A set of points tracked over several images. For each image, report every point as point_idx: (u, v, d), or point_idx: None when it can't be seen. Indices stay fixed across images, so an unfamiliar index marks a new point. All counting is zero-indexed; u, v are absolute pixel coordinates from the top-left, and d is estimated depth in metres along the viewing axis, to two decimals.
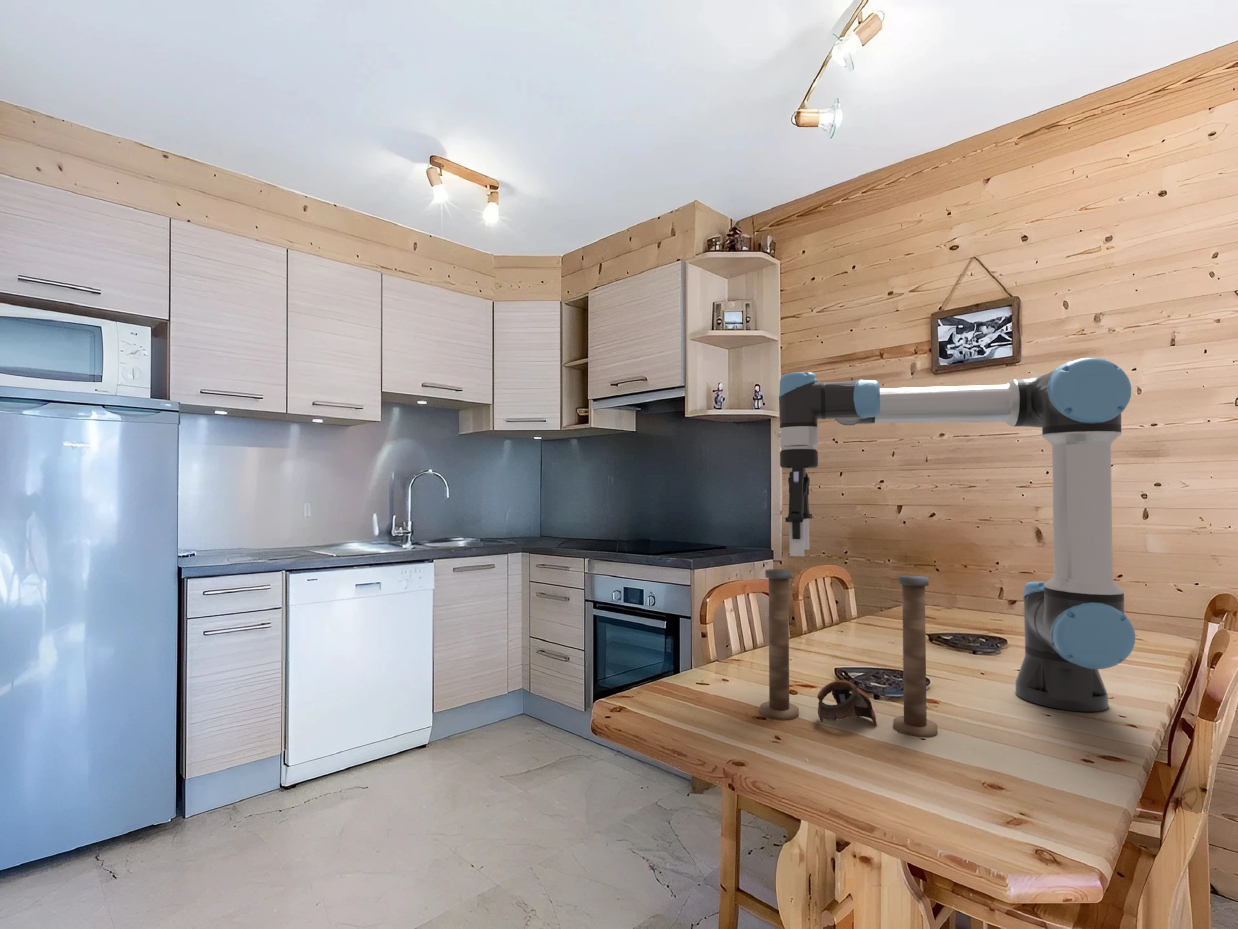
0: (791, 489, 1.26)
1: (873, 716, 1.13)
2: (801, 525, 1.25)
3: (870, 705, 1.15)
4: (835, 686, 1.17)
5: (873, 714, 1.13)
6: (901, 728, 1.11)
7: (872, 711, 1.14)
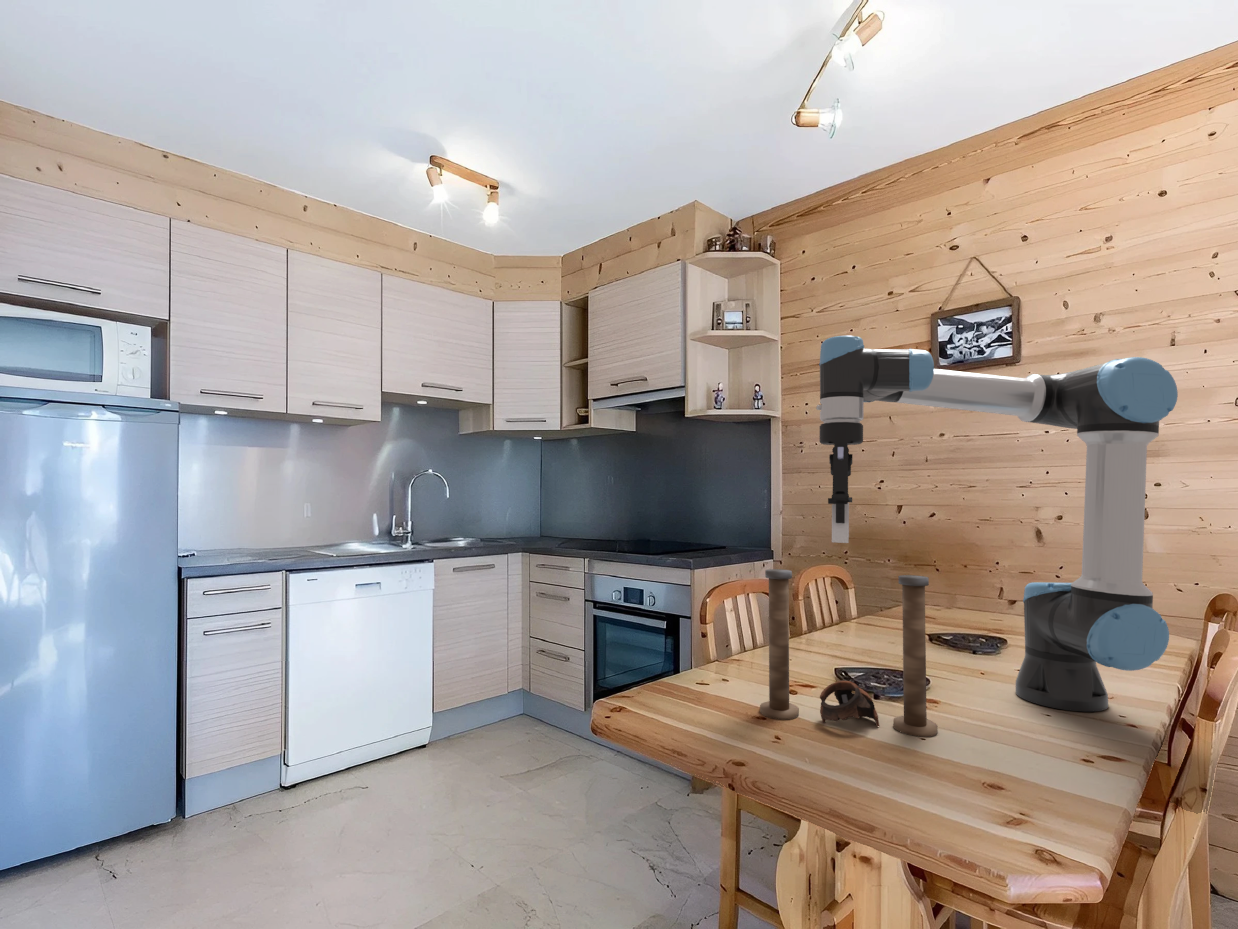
0: (835, 466, 1.11)
1: (876, 716, 1.13)
2: (846, 507, 1.10)
3: (872, 705, 1.14)
4: (837, 686, 1.17)
5: (876, 714, 1.13)
6: (901, 728, 1.11)
7: (875, 711, 1.14)
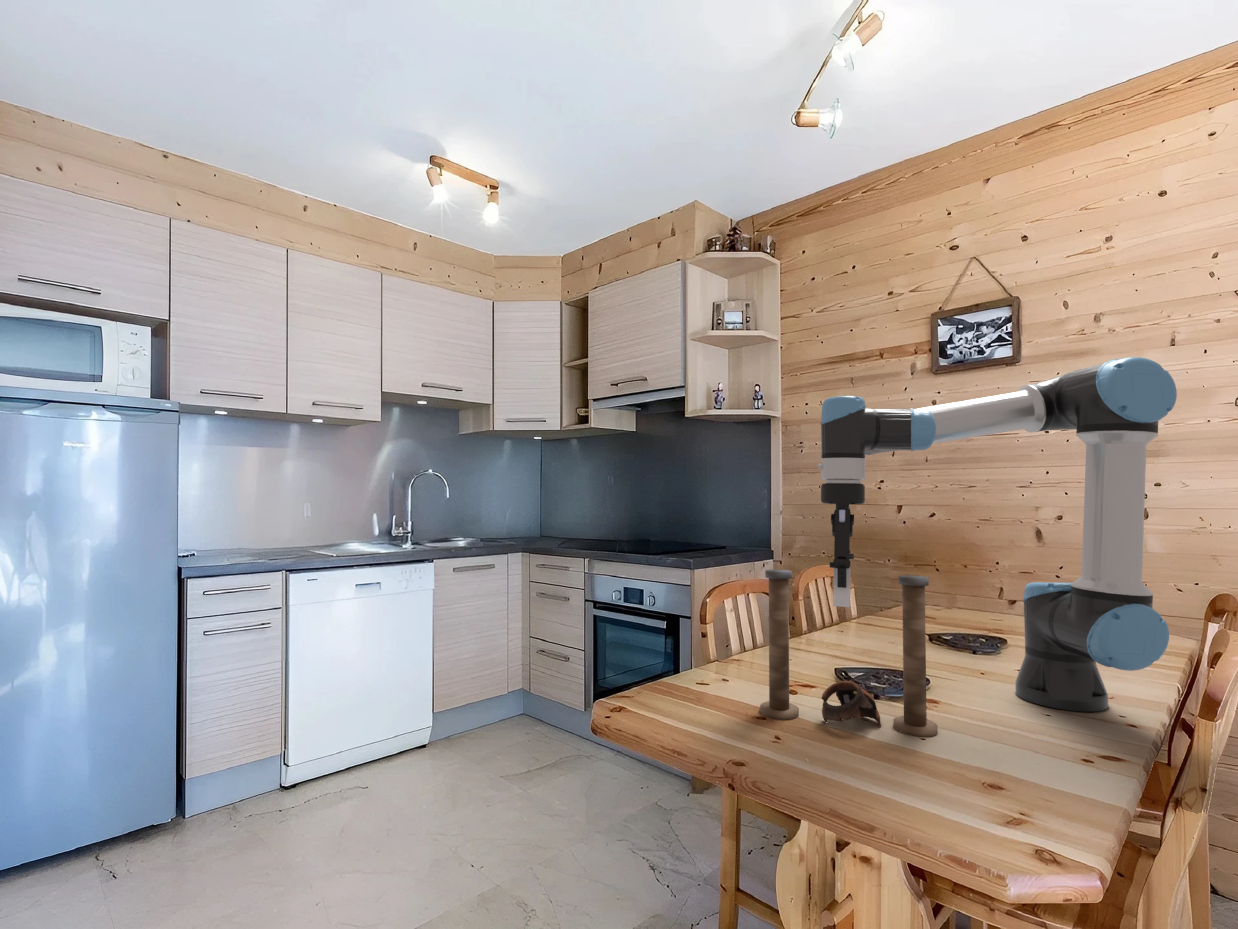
0: (836, 530, 1.10)
1: (878, 717, 1.13)
2: (847, 571, 1.10)
3: (874, 706, 1.14)
4: (839, 687, 1.17)
5: (877, 715, 1.13)
6: (901, 728, 1.11)
7: (876, 712, 1.14)
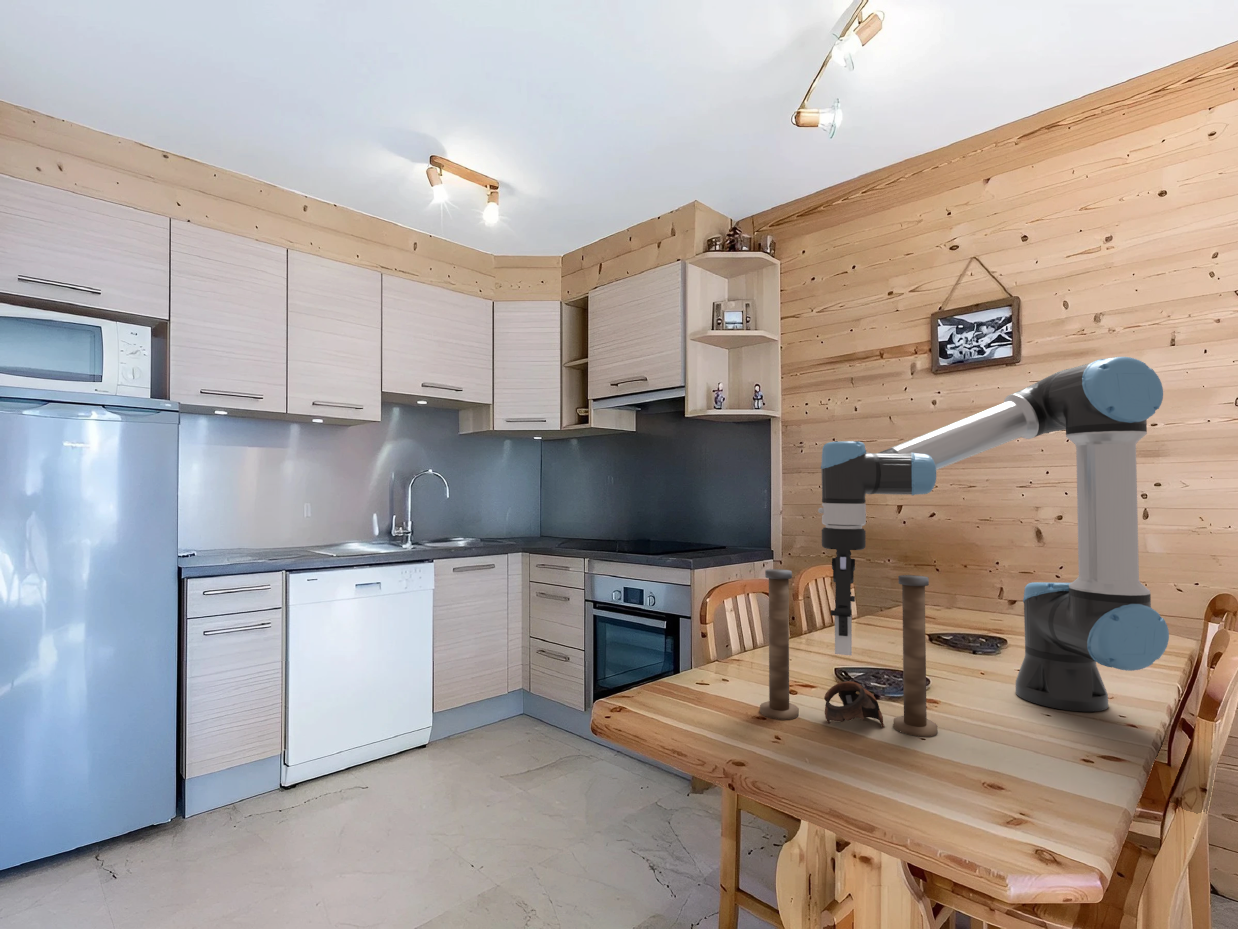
0: (837, 578, 1.10)
1: (880, 717, 1.13)
2: (849, 619, 1.10)
3: (877, 706, 1.14)
4: (842, 687, 1.16)
5: (880, 715, 1.13)
6: (901, 728, 1.11)
7: (879, 712, 1.14)
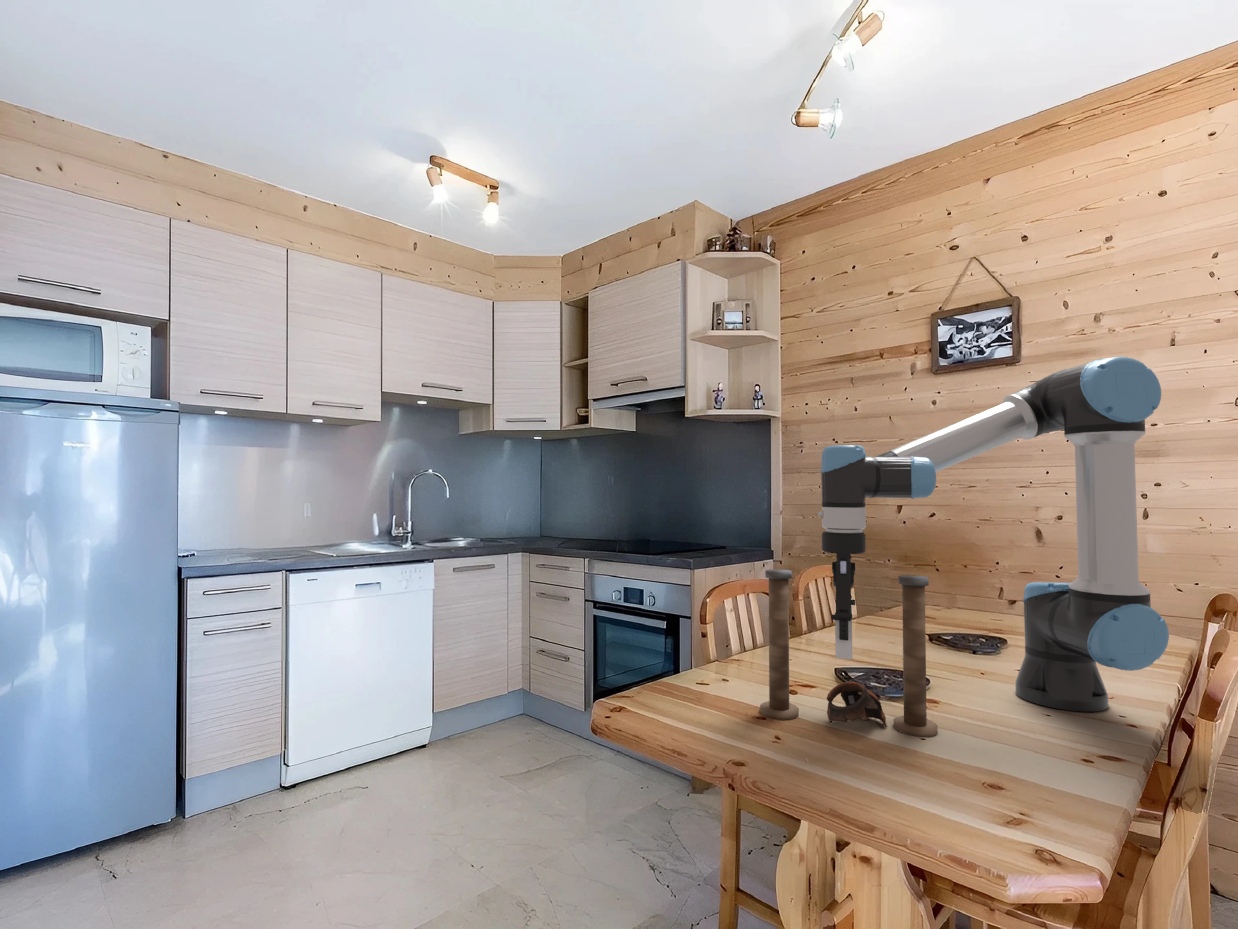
0: (838, 582, 1.10)
1: (883, 717, 1.12)
2: (849, 624, 1.10)
3: (880, 706, 1.14)
4: (844, 687, 1.16)
5: (883, 715, 1.13)
6: (901, 728, 1.11)
7: (882, 712, 1.14)
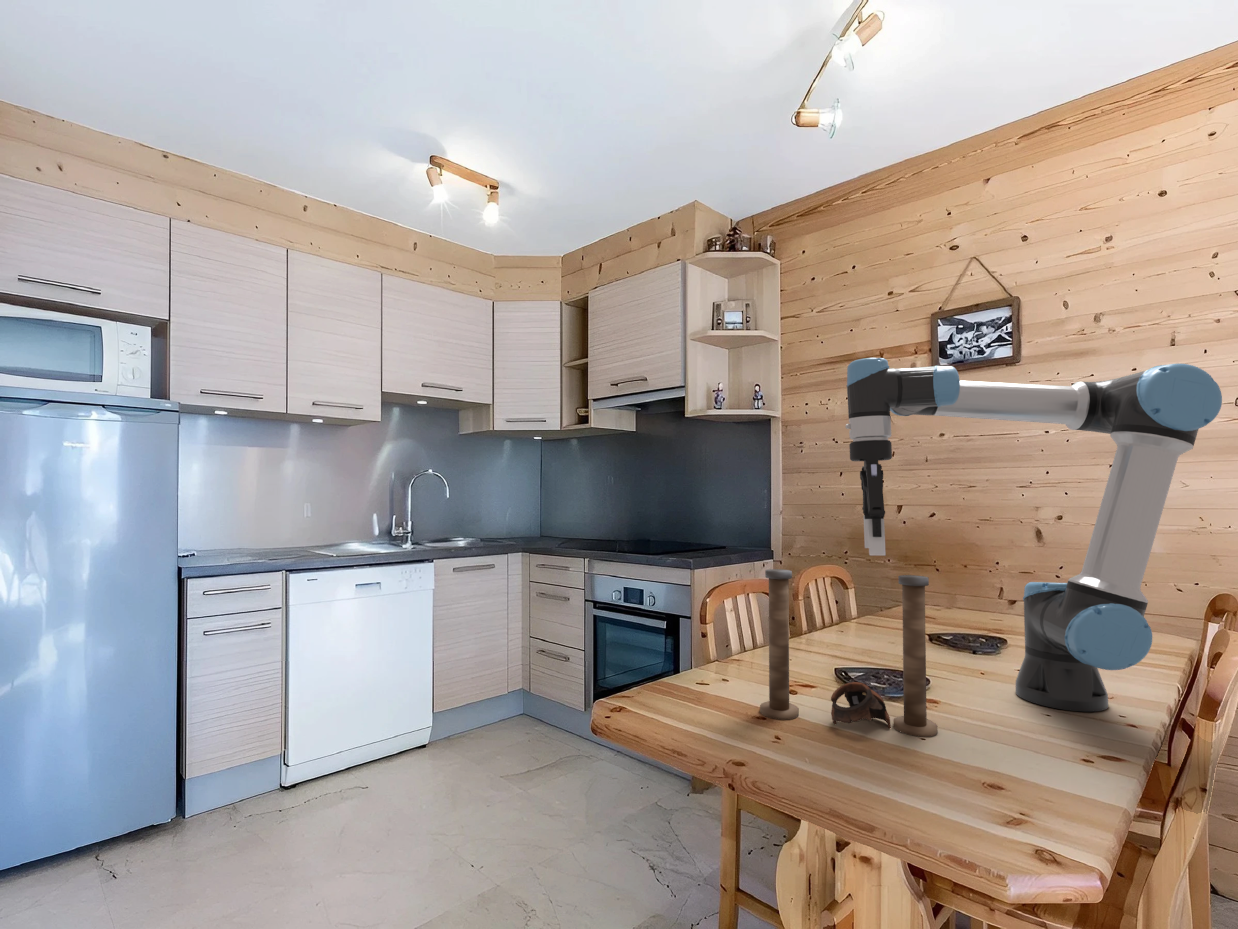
0: (870, 483, 1.16)
1: (887, 718, 1.12)
2: (881, 522, 1.16)
3: (884, 707, 1.14)
4: (848, 688, 1.16)
5: (887, 716, 1.13)
6: (901, 728, 1.11)
7: (886, 713, 1.13)
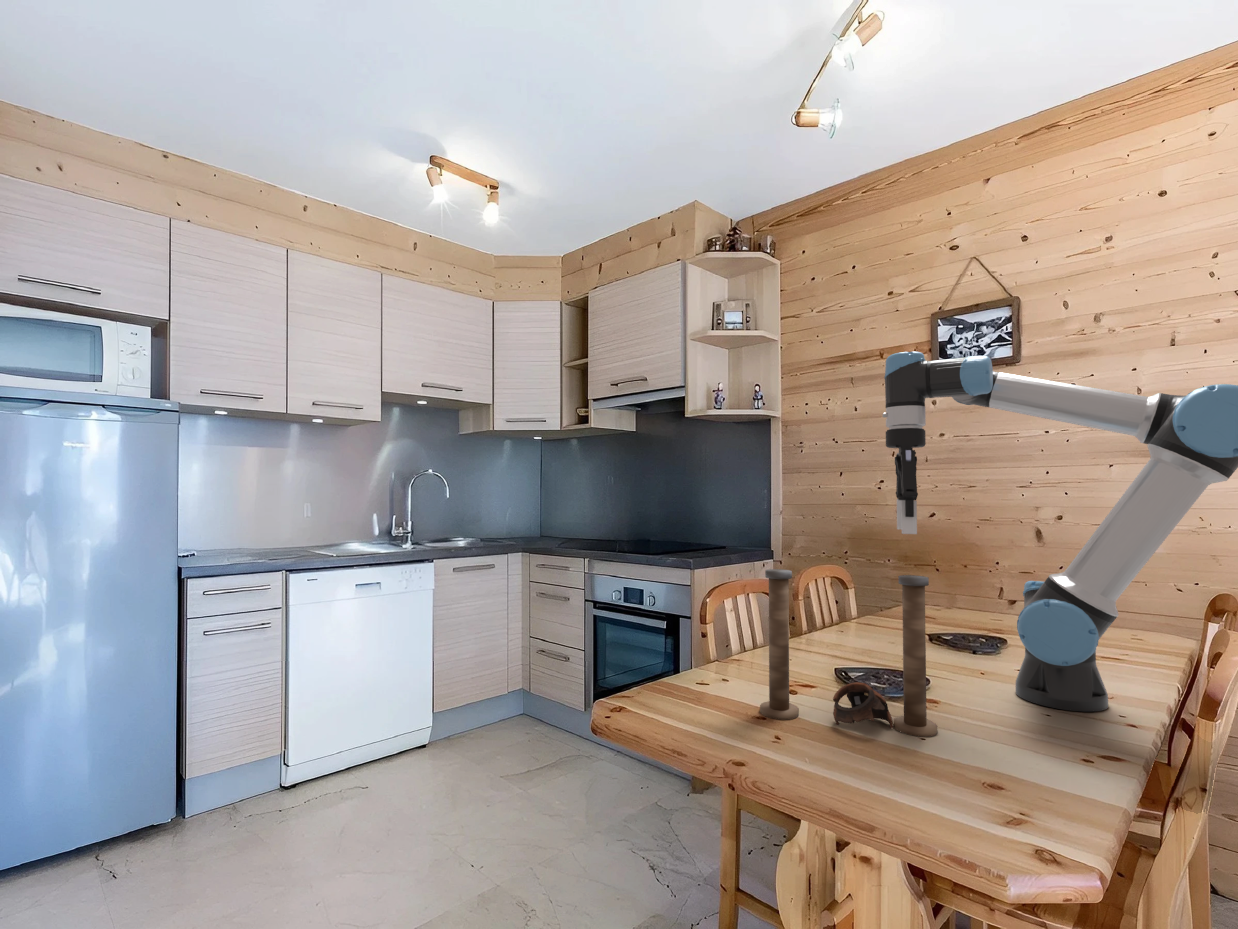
0: (904, 467, 1.26)
1: (890, 718, 1.12)
2: (914, 503, 1.26)
3: (886, 707, 1.14)
4: (850, 688, 1.16)
5: (889, 716, 1.12)
6: (901, 728, 1.11)
7: (888, 713, 1.13)
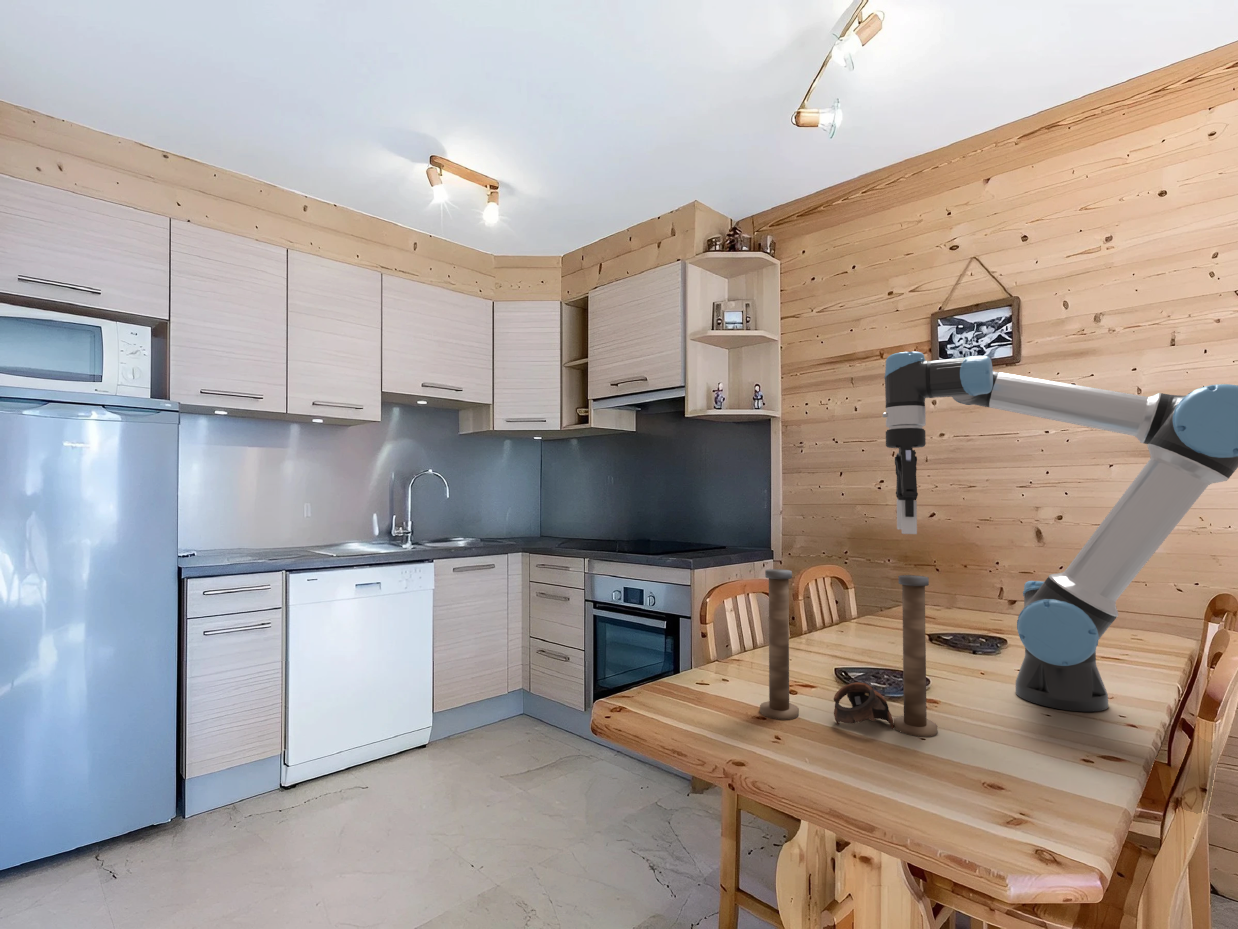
0: (904, 467, 1.26)
1: (890, 718, 1.12)
2: (914, 503, 1.26)
3: (887, 707, 1.13)
4: (851, 688, 1.16)
5: (890, 716, 1.12)
6: (901, 728, 1.11)
7: (889, 713, 1.13)
